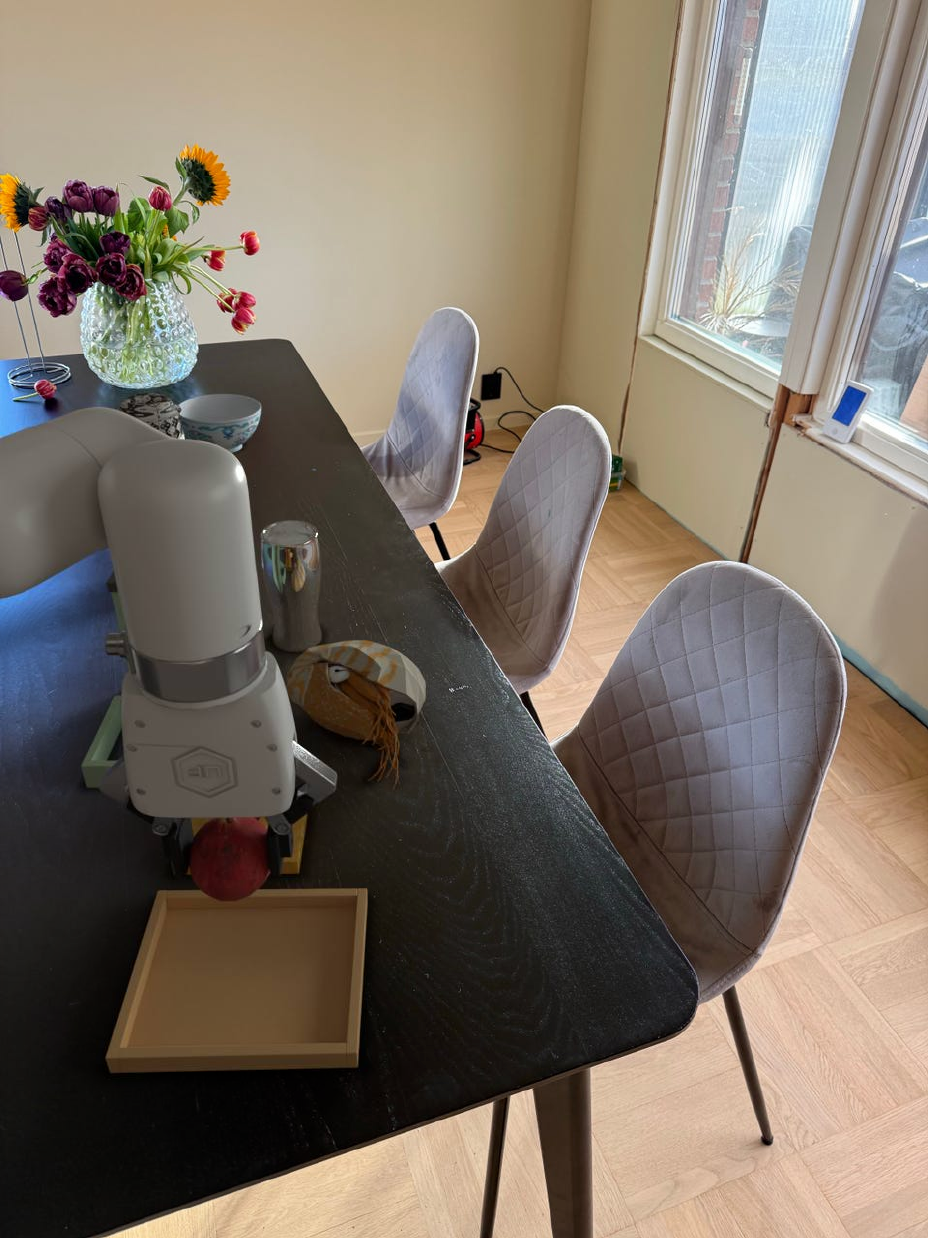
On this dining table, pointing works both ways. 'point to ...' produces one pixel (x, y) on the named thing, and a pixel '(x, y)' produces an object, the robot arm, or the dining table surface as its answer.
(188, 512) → the robot arm
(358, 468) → the dining table surface
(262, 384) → the dining table surface
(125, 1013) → the oak tray
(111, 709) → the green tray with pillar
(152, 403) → the decorative candle
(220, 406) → the chinaware
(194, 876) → the pomegranate
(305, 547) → the beer glass
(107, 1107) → the dining table surface
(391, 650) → the nautilus
